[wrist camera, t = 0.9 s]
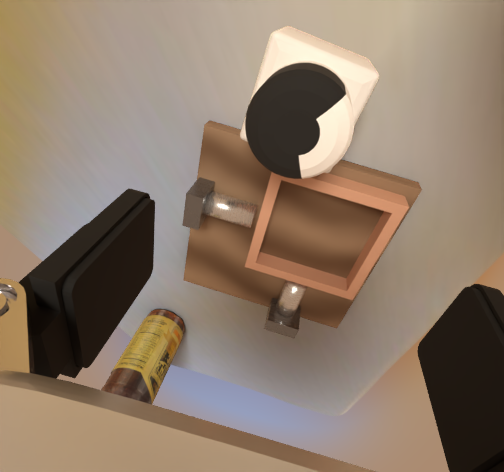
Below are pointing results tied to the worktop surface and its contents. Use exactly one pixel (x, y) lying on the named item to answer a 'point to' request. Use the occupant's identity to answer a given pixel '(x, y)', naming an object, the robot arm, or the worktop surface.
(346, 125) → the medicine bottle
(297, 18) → the worktop surface
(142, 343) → the sauce bottle
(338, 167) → the square clamping fixture
